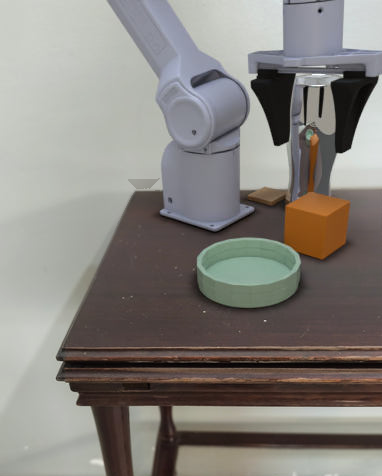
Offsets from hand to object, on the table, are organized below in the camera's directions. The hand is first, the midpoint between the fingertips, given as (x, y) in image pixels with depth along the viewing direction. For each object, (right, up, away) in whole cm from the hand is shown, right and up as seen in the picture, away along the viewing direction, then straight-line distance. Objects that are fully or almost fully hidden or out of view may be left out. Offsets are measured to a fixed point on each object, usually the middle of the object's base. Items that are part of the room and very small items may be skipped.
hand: (311, 147), depth 61 cm
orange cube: (+1, -10, +3) cm, 11 cm away
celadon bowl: (-7, -15, -3) cm, 17 cm away
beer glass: (+2, -3, +13) cm, 13 cm away
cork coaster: (-3, -2, +15) cm, 15 cm away
